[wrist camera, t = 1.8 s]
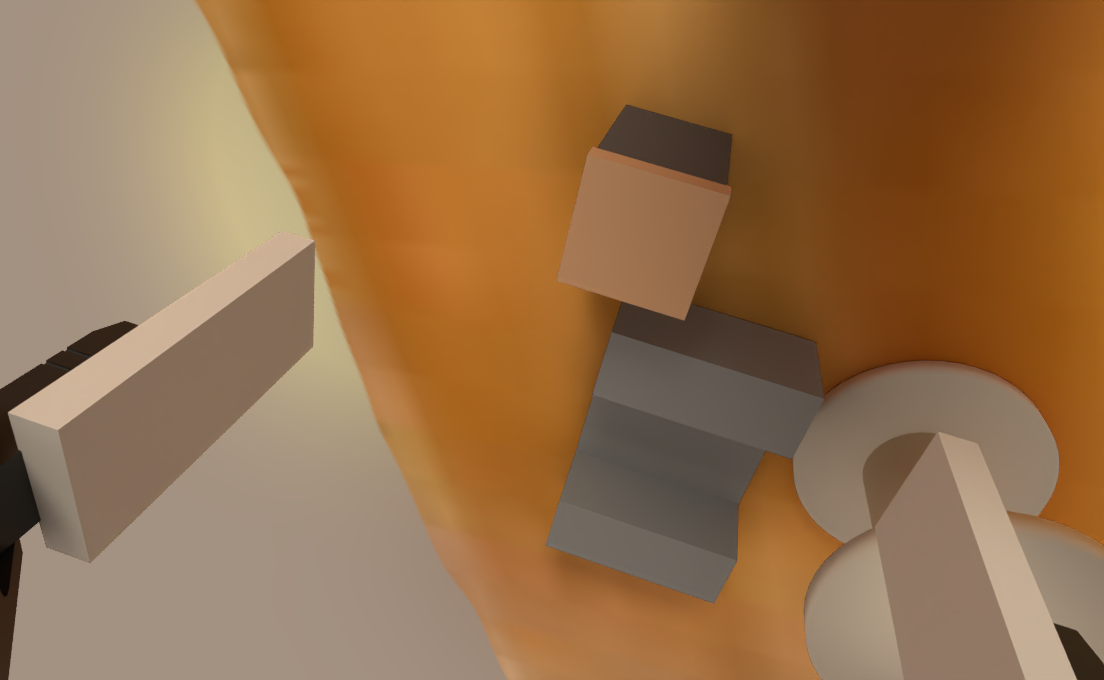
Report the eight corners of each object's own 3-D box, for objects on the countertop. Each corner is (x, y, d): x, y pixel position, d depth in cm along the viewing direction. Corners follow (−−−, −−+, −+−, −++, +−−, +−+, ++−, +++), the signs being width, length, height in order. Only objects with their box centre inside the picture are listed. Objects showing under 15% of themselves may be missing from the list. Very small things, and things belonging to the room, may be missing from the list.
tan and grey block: (624, 101, 26) (587, 154, 20) (735, 132, 26) (730, 196, 20) (596, 206, 28) (556, 280, 23) (698, 236, 28) (684, 320, 22)
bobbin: (851, 329, 28) (889, 489, 20) (1106, 407, 27) (1249, 605, 20) (759, 502, 34) (761, 681, 26) (969, 571, 33) (1038, 779, 25)
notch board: (627, 284, 30) (611, 332, 26) (815, 342, 29) (824, 398, 26) (565, 486, 36) (545, 545, 33) (717, 537, 35) (714, 603, 32)
